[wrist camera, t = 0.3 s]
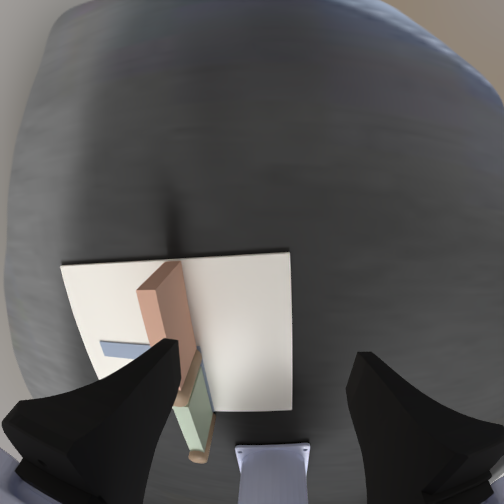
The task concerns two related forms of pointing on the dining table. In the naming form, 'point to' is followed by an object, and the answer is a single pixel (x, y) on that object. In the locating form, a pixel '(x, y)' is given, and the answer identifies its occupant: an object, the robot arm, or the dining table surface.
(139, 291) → the fence panel
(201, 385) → the fence fixed
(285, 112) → the dining table surface
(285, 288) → the card
